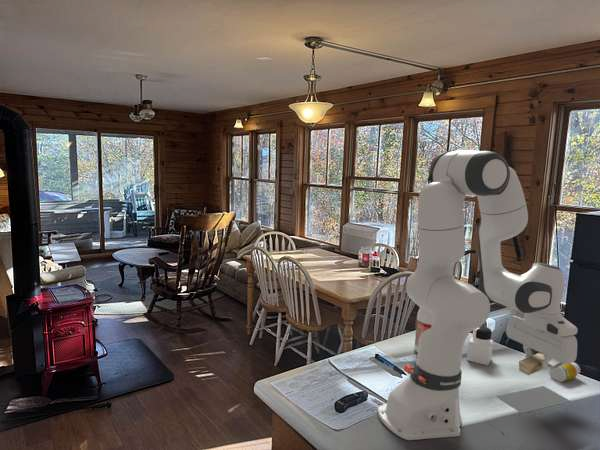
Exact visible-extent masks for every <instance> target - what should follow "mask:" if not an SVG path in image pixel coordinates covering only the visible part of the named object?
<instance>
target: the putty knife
mask: <svg viewBox="0 0 600 450" xmlns="http://www.w3.org/2000/svg"><path fill="white" fill-rule="evenodd" d="M532 355H533V356H530V357H528V358H526V357H525V358H523V359H521V360H519V361H518V370H519V372H521V373H523V374H525V375H527V376H530V375H533V374H534V373H535V374H536V373H537V372H540V371H542V370H544V369H543V368H541V367H539V361H542V360H544V359H545V358H544V357H543V354H542V353H540V352H537V353H535V354H532ZM561 365H563V363H561V362H559V361H557V360H555V359H552V360H551V361H550V362H549V363H548V367H547V368H552V369H554V368H557V367H559V366H561Z"/></svg>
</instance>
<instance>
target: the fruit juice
mask: <svg viewBox="0 0 600 450" xmlns="http://www.w3.org/2000/svg"><path fill="white" fill-rule="evenodd" d="M433 320H434V317H433V314H432V313H430V312H428V311H426V310H424V309H423V308H421V307H419V309H418V311H417V315H416V328H415V339H414V350H415V352H416V353H418V346H419V337H420V335H421V334H422V333H423V332H424V331H426V330H428V329H430V328H431V326H432V324H433Z"/></svg>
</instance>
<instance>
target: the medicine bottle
mask: <svg viewBox="0 0 600 450" xmlns="http://www.w3.org/2000/svg"><path fill="white" fill-rule="evenodd" d="M492 332H493V331H492V329H491V328H489V327H487V326H484V325H482V326H480V327H479V328H477V329H474V330H472V336H471V337H470V339H469V340H468V346H467V354H466V355H467V356H466V360H467V361H469V362H473V363H475V364H480V365H483V366H489V365H490V362H491V360H492V356H493V346H494V339H492V335H493V334H492Z"/></svg>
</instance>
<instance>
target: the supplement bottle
mask: <svg viewBox="0 0 600 450" xmlns="http://www.w3.org/2000/svg"><path fill="white" fill-rule="evenodd" d="M548 368H549V369H548V374H549V376H550V377H551V379H552V380H555V381H558V382H560V383H563V382H567V381H569V380H572V379H575V378H577V376H578V375H579V374H580V373H581V367H580V365H579V364H578V363H576V362H575V361H574V362H572V363H569V364H563V365H561V366H559V367H557V368H554V369H552V368H550V367H548Z"/></svg>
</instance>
